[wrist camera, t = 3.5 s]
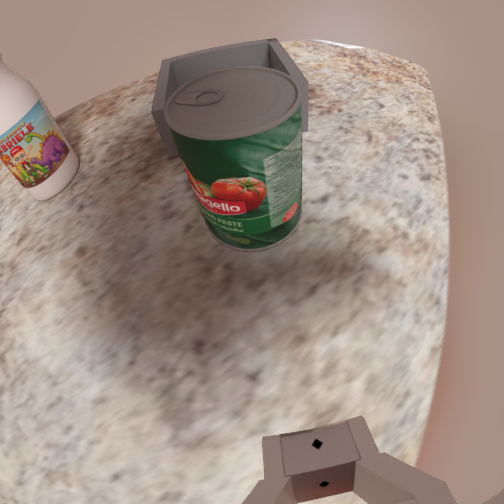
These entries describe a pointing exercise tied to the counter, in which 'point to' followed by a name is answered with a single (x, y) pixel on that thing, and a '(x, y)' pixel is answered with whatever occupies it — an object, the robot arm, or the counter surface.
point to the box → (216, 58)
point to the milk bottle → (32, 139)
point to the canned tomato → (242, 152)
